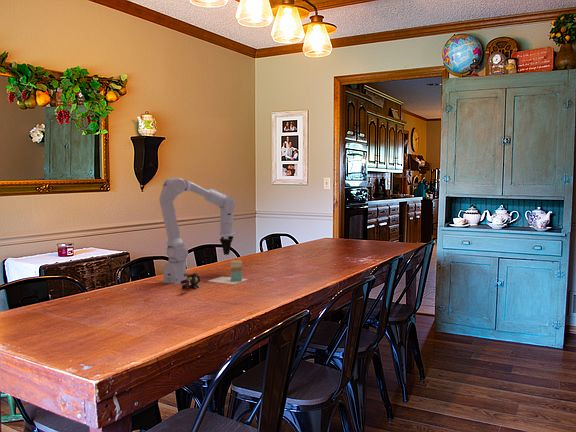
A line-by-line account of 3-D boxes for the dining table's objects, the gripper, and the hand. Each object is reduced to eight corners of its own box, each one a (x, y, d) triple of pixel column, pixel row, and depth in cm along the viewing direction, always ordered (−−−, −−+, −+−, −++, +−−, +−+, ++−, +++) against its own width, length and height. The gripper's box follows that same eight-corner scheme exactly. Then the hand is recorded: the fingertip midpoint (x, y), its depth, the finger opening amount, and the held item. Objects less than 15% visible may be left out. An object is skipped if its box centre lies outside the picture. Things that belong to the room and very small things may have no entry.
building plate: (234, 285, 205) (234, 284, 205) (206, 282, 211) (206, 280, 211) (247, 280, 215) (247, 279, 215) (221, 277, 221) (221, 276, 221)
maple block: (241, 271, 211) (241, 262, 211) (230, 271, 210) (230, 262, 210) (241, 269, 215) (241, 260, 215) (231, 269, 215) (231, 260, 215)
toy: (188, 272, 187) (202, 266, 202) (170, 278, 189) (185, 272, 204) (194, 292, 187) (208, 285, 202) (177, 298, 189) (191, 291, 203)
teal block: (241, 281, 211) (241, 271, 211) (231, 281, 211) (231, 271, 210) (241, 278, 216) (241, 269, 215) (231, 279, 215) (231, 269, 215)
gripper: (235, 224, 216) (235, 255, 217) (236, 221, 231) (236, 250, 231) (218, 224, 216) (218, 255, 217) (220, 221, 230) (220, 251, 231)
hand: (226, 253), depth 224 cm, fingers open, 7 cm apart
